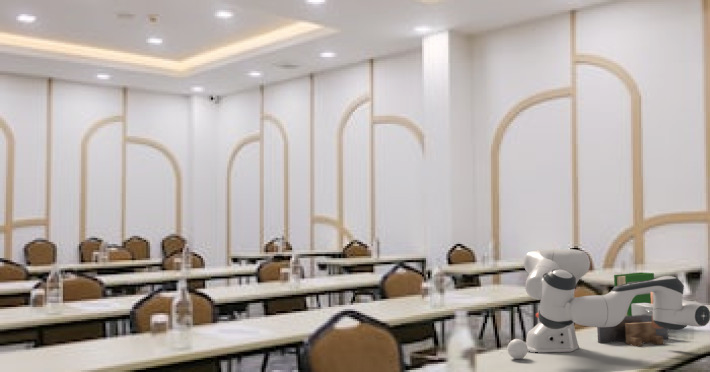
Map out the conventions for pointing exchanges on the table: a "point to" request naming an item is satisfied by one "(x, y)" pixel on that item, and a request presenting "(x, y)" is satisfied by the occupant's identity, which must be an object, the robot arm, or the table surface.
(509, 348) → the seamed sphere
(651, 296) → the dowel
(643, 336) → the notch block
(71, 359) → the table surface
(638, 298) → the hardback book
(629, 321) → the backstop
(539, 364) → the table surface
